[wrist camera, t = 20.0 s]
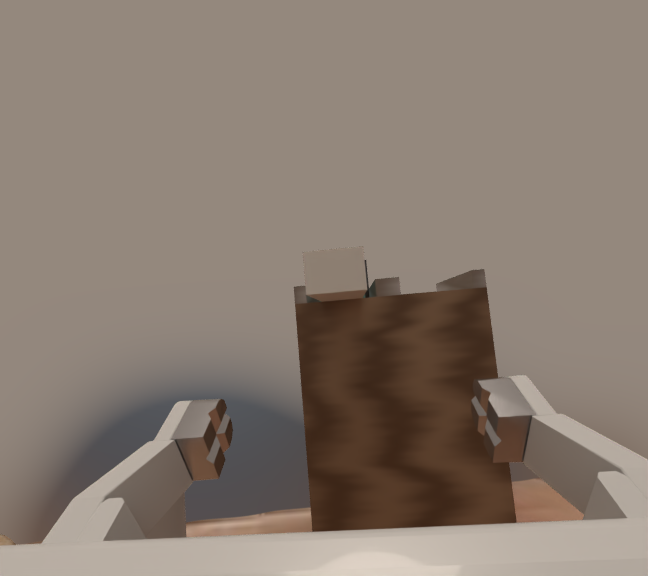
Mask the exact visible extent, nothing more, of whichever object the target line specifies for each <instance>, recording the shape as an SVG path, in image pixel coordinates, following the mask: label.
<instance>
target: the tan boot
mask: <svg viewBox="0 0 648 576" xmlns="http://www.w3.org/2000/svg"><path fill="white" fill-rule="evenodd" d="M1 545H16V544H15V543H14V542H13V541H12V540H11V539H9V538H8V537H6V536H5V535H0V546H1Z"/></svg>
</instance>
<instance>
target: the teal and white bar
mask: <svg viewBox="0 0 648 576" xmlns="http://www.w3.org/2000/svg"><path fill="white" fill-rule="evenodd" d="M303 261H304V274H305V287H306V295H307V296H310V297H312V298H314V299H317V300H319V302H325V301H336V300H347V299H358V298H365V293H366V291H367V281H366V271H365V260H364V251H363V246H359V247H349V248H340V249H329V250H320V251H310V252H303Z"/></svg>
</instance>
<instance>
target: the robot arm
mask: <svg viewBox="0 0 648 576" xmlns="http://www.w3.org/2000/svg"><path fill="white" fill-rule="evenodd" d="M472 390H473V392H474V394H475V397H474V398H473V399H472V400H471V412H472V418H473V421H474V424H475V426H476V429H477V431H478V432H480V433H481V434H482V435H484V446H485V448H486V450H487V452H488V454H489V456H490V458H491V460H492V462H493V463H502V462H523V464H524V465H526V466H527V467H528V468H529V469H530V470H532V471H533V472H534V473H535V474H536V475H538V476H539V477H540V478H541V479H542V480H543V481H545V482H546V483H547V484H548V485H549V486H551V487H552V488H553V489H554V490H555V491H557V492H558V493H559V494H560V495H561V496H562V497H564V498H565V499H566V500H567V501H568V502H570V503H571V504H572V505H573V506H574V507H576V508H577V509H578V510H579V511H580V512H582V513H583V514H584V517H583V520H572V521H549V522H526V523H503V524H480V525H458V526H436V527H414V528H392V529H368V530H345V531H322V532H298V533H275V534H252V535H229V536H206V537H184V538H161V539H147V538H146V537H145V536H146V535H147V534H148V533H149V531H150V530H151V529H152V528H153V527H154V526H155V525H156V523H157V522H158V521H159V520H160V519H161V518H162V517H163V516H164V514H165V513H166V512H167V511H168V510H169V509H170V508H171V507H172V505H173V504H174V503H175V502H176V501H177V500H178V499H179V497H180V496H181V495H182V494H183V493H184V492H185V491H186V489H187V488H188V487H189V486H190V485H191V484H192V483H193V481H195V480H206V479H218V478H219V477H220V474H221V470H222V468H223V465H224V462H225V457H224V454H223V453H224V452H225V451H226V450H227V449H228V448H229V447H230V443H231V440H232V431H233V429H232V422H231V419H230V417H229V416H228V415H226V414H225V411H226V408H227V407H226V404H225V401H224V400H222V399H211V400H193V401H179V402H178V403H176V404H175V405H174V407H173V409H172V410H171V412H170V414H169V415H168V417H167V419H166V421H165V422H164V424H163V426H162V427H161V429H160V431H159V432H158V434H157V436H156V438H155V439H154V441H150V442H148V443H146V444H145V445H144V446H142V447H141V448H140V449H139V450H137V451H136V452H134V453H133V454H132V455H130V456H129V457H128V458H127V459H125V460H124V461H123V462H121V463H120V464H119V465H117V466H116V467H115V468H113V469H112V470H111V471H109V472H108V473H107V474H105V475H104V476H103V477H101V478H100V479H99V480H98V481H96V482H95V483H93V484H92V485H91V486H89V487H88V488H87V489H86V490H85V491H83V492H82V493H80V494H79V495H78V496H76V497H75V498H74V499H73V500H72V501H71V503H70V504H69V505H68V507H67V508H66V510H65V511H64V512H63V514H62V515H61V517H60V518H59V520H58V521H57V522H56V524H55V525H54V527H53V528H52V529H51V531H50V532H49V534H48V535H47V536H46V538H45V539H44V541H43V542H42V544H24V545H1V546H0V576H648V459H646V458H644V457H642V456H640V455H638V454H636V453H634V452H633V451H631V450H629V449H627V448H625V447H623V446H621V445H619V444H618V443H616V442H614V441H612V440H610V439H608V438H607V437H605V436H603V435H601V434H599V433H597V432H595V431H593V430H592V429H590V428H588V427H586V426H584V425H582V424H580V423H578V422H576V421H575V420H573V419H571V418H569V417H567V416H565V415H564V414H557V413H556V412H555V411H554V410H553V408H552V407H551V406H550V405H549V403H548V402H547V401H546V400H545V398H544V397H543V396H542V394H541V393H540V392H539V391H538V389H537V388H536V387H535V386H534V384H533V383H532V382H531V381H530V379H529V378H528V377H527V376H525V375H520V376H510V377H499V378H488V379H476V380H474V382H473V387H472Z"/></svg>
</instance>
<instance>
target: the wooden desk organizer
mask: <svg viewBox="0 0 648 576" xmlns="http://www.w3.org/2000/svg"><path fill="white" fill-rule="evenodd" d="M365 271H366V281H367V291H366V293H365V298H358V299H347V300H336V301H325V302H319V300H317V299H314V298H312V297H310V296H307V295H306V287H305V286H297V287H294V294H295V307H296V321H297V334H298V347H299V360H300V373H301V386H302V399H303V411H304V425H305V437H306V451H307V464H308V477H309V491H310V504H311V517H312V530H313V532H322V531H345V530H368V529H392V528H414V527H436V526H458V525H480V524H503V523H517V522H516V514H515V506H514V498H513V491H512V483H511V475H510V468H509V462H502V463H493V462H492V460H491V458H490V456H489V454H488V452H487V450H486V448H485V446H484V435H482V434H481V433H480V432H478V431H477V429H476V426H475V424H474V421H473V418H472V412H471V400H472V399H473V398H474V397H475V394H474V392H473V390H472V387H473V382H474V380H476V379H488V378H498V373H497V366H496V358H495V350H494V342H493V334H492V327H491V319H490V312H489V303H488V295H487V287H486V280H485V272H484V269H481V270H472V271H469V272H466V273H464V274H461V275H458V276H456V277H453V278H451V279H448V280H445V281H443V282H440V283H437V284H436V288H437V292H427V293H415V294H404V295H401V292H400V283H399V277H395V278H385V279H375V280H374V282H373V284H372V285H371V287H370V288H369V287H368V277H367V266H366V260H365Z"/></svg>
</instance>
